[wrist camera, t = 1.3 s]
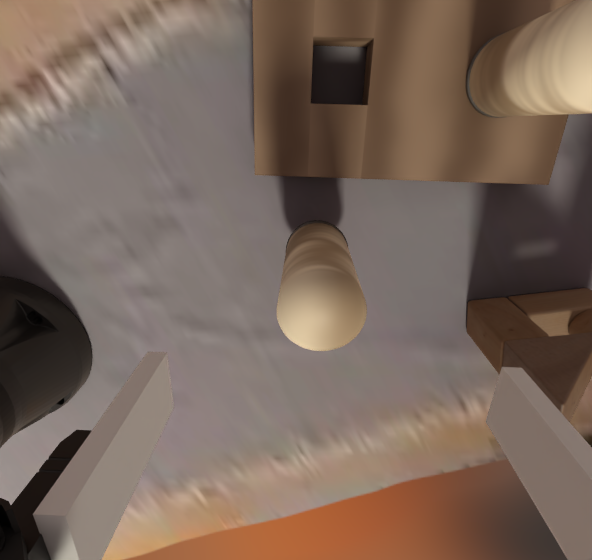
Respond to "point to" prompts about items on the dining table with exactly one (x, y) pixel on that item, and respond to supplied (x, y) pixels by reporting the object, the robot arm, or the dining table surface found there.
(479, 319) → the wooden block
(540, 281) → the dining table surface
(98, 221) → the dining table surface
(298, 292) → the beech peg
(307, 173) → the walnut board
